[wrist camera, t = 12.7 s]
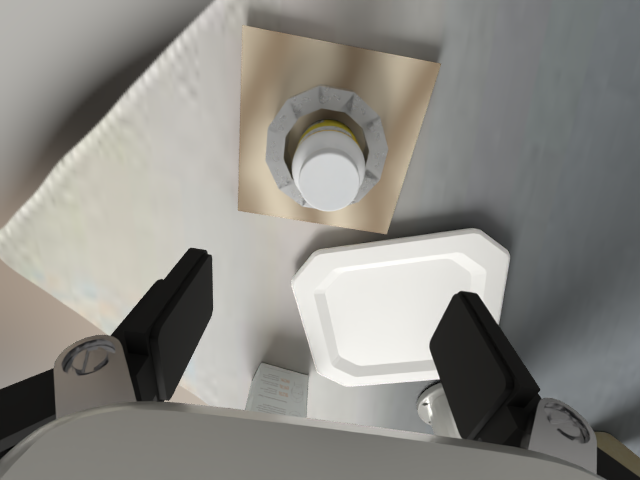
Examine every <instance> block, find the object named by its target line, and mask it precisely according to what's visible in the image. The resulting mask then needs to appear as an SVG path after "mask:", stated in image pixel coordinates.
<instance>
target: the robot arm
mask: <svg viewBox="0 0 640 480" xmlns="http://www.w3.org/2000/svg"><path fill="white" fill-rule="evenodd" d="M212 312H213V281H212V255H209V254H208V253H207V251H206V250H202V249H196V248H189V249H188V251H187V252H186V253H185V254H184V255H183V257H182V258H181V259H180V260H179V262H178V263H177V264H176V265H175V267H174V268H173V269H172V270H171V272H170V273H169V274H168V275H167V277H166V278H165V279H164V280H163V279H160V280H157V281H156V282H155V283H154V284H153V286H152V287H151V288H150V289H149V290H148V292H147V293H146V294H145V295H144V296H143V298H142V299H141V300H140V301H139V302H138V304H137V305H136V306H135V307H134V308H133V309H132V311H131V312H130V313H129V314H128V315H127V317H126V318H125V319H124V320H123V321H122V323H121V324H120V325H119V326H118V327H117V329H116V330H115V331H114V332H113V333H112V335H111V336H108V335H95V336H91V337H87V338H84V339H82V340H79V341H77V342H75V343H73V344H72V345H70V346H69V347H67V348H66V349H65V350H64V351H63V352H62V353H61V354H60V355H59V356H58V358H57V359H56V361H55V364H54V368H53V369H51V370H48V371H46V372H43V373H40V374H38V375H36V376H33V377H30V378H28V379H25V380H23V381H20V382H18V383H15V384H13V385H10V386H8V387H5V388H3V389H0V480H640V477H639V476H638V475H636V474H635V473H633V472H632V471H631V470H629V469H628V468H626V467H625V466H624V465H622V464H621V463H619V462H618V461H617V460H615V459H614V458H612V457H611V456H610V455H608V454H607V453H605V452H604V451H603V450H601V449H600V448H598V447H597V440H596V435H595V433H594V431H593V429H592V428H591V426H590V425H589V424H588V422H587V421H586V420H585V419H584V418H583V417H582V416H581V415H580V414H579V413H578V412H577V411H576V410H574V409H573V408H571V407H570V406H569V405H567V404H565V403H563V402H561V401H559V400H556V399H553V398H543V399H541V397H540V396H539V394H538V392H539V391H540V388H539V387H538V385H537V383H536V382H535V380H534V379H533V377H532V376H531V374H530V373H529V371H528V370H527V368H526V367H525V365H524V364H523V362H522V361H521V359H520V358H519V356H518V354H517V353H516V351H515V350H514V348H513V347H512V345H511V344H510V342H509V341H508V339H507V338H506V336H505V335H504V333H503V332H502V330H501V329H500V327H499V326H498V324H497V322H496V321H495V319H494V318H493V316H492V315H491V313H490V312H489V310H488V309H487V307H486V306H485V304H484V303H483V301H482V300H481V298H480V297H479V295H478V294H477V293H473V292H467V291H460V292H458V294H454V295H453V297H452V299H451V301H450V303H449V305H448V307H447V308H446V310H445V312H444V314H443V316H442V318H441V320H440V322H439V324H438V326H437V328H436V330H435V332H434V334H433V336H432V338H431V340H430V343H429V349H430V352H431V355H432V358H433V361H434V364H435V367H436V369H437V372H438V375H439V378H440V381H441V383H438V384H436V385H434V386H432V387H430V388H428V389H427V390H426V391H424V392H423V393H422V394H421V396H420V397H419V399H418V402H417V410H418V414H419V416H420V418H421V419H422V420H423V421H424V422H426V423H427V424H429V425H431V426H432V428H433V432H434V435H431V434H423V433H416V432H409V431H401V430H394V429H386V428H379V427H371V426H364V425H356V424H349V423H341V422H333V421H326V420H318V419H310V418H303V417H295V416H287V415H279V414H271V413H263V412H255V411H247V410H239V409H231V408H222V407H213V406H203V405H195V404H185V403H173V402H164V400H168V401H169V400H170V398H171V397H172V395H173V393H174V391H175V389H176V387H177V385H178V383H179V381H180V379H181V377H182V375H183V373H184V371H185V369H186V367H187V365H188V363H189V361H190V359H191V357H192V355H193V353H194V351H195V349H196V347H197V345H198V343H199V341H200V339H201V337H202V335H203V333H204V330H205V328H206V326H207V324H208V322H209V320H210V318H211V316H212Z"/></svg>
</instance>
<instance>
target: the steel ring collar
mask: <svg viewBox="0 0 640 480" xmlns="http://www.w3.org/2000/svg"><path fill="white" fill-rule="evenodd" d="M321 108H323V109H328V110H334V111H339V112H345V113H346V114H348V115H349V116H350V117H351V118H352V119H353V120H354V121H355V122H356V123H357V124H358V125H359V126H361V129H362V132H363V136H364V139H365V143H366V144H365V148H364V152H363V156H364V160H365V175H364V179H363V182H362V184H361V186H360V188H359V190H358V193H357V195H356V197H355V198H354V200H353V201H352V202H351V203H350V204H349V205H351V204H354V203H357V202H359V201H360V200H361V199H362V198H363V197H364V196H365V195H366V194H367V193H368V192H369V191H370V190H371V189H372V188H373V187H374V186H375V185H376V184H377V183H378V181H379V180H380V178H381V174H382V170H383V167H384V163H385V160H386V156H387V152H388V146H387V142H386V138H385V134H384V130H383V127H382V123H381V119H380V116H379V115H378V114H377V113H376V112H375V111H374V110H373V109H372V108H371V107H370V106H368V105H367V104H366V103H365V102H364V101H363V100H362V99H361V98H360V97H359V96H358V95H357V94H356V93H355V92H354V91H353V90H350V89H345V88H340V87H334V86H329V85H324V84H320V85H317V86H315V87H313V88H310V89H308V90H306V91H303V92H301V93H298V94H296V95H294V96H291V97H290V98H289V99H287V101H286V102H285V104H284V105H283V107H282V108H281V109H280V111H279V112H278V114H277V115H276V117H275V118H274V120H273V121H272V122H271V124H270V125H269V127H268V131H267V145H266V160H265V161H266V163H267V165H268V167H269V169H270V172H271V174H272V176H273V178H274V180H275V182H276V184H277V186H278V189H280V190H281V191H282V192H284V193H285V194H286V195H288V196H289V197H290V198H292V199H293V200H294V201H296V202H297V203H298V204H300V205H301V206H302V207H308V208H314V207H312V206H311V205H309V204H308V203H307V202H306V201H305V199H304V198H303V196H302V195H301V192H300V191H299V189H298V188H297V186H296V184H295V182H294V179H293V175H292V159H291V157H290V155H289V152H288V143H289V134H290V130H291V128H292V127H293V126H294V124H295V123H296V121H297V120H298V119H299V117H302V116H304V115H306V114H309V113H311V112H314V111H316V110H319V109H321ZM347 206H348V205H347ZM315 209H316V208H315Z"/></svg>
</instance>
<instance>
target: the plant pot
mask: <svg viewBox="0 0 640 480" xmlns="http://www.w3.org/2000/svg"><path fill="white" fill-rule="evenodd" d="M594 433H595V435H596V440H597V447H598V448H600V449H601V450H603V451H604V452H605V453H607V454H608V455H610V456H611V457H612V458H614V459H615V460H617V461H618V462H619V463H621V464H622V465H624V466H625V467H626V468H628V469H629V470H631V471H632V472H633V473H635V474H636V475H638V476H639V477H640V458H639V457H638V456H637V455H636V454H634V453H633V452H632V451H631V450H629V449H628V448H627V447H626V446H624V445H623V444H622V443H621V442H620V441H618V440H617V439H616V438H614V437H613V436H612V435H610V434H608V433H605V432H594Z"/></svg>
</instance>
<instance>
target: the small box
mask: <svg viewBox="0 0 640 480" xmlns="http://www.w3.org/2000/svg"><path fill="white" fill-rule="evenodd" d="M308 379H309V376H308V375H305V374H301V373H297V372H294V371H290V370H287V369H283V368H280V367H276V366H272V365H269V364H265V363H261V364H260V366H259V368H258V370H257V372H256V374H255V376H254V378H253V380H252V382H251V386H250V390H249V395H248V399H247V403H246V408H245V410H247V411H255V412H263V413H271V414H279V415H287V416H295V417H303V418H306V416H307V398H308Z"/></svg>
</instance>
